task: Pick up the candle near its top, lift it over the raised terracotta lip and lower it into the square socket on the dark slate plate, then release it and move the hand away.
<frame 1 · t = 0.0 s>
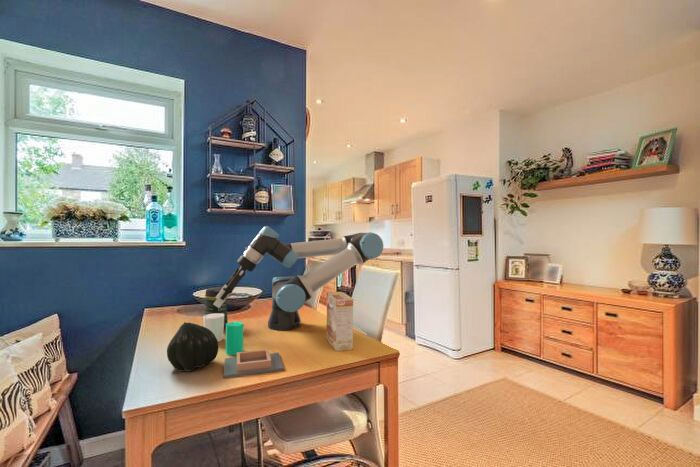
hand: (217, 302, 133), 15 cm above the table, tool tilted 35°, fingers open, 13 cm apart
candle plate: (253, 365, 108), on the table
white cup: (213, 340, 133), on the table
squash: (192, 367, 107), on the table
coffee jar: (216, 328, 150), on the table
candle: (234, 352, 120), on the table
coffeecake box: (338, 344, 130), on the table
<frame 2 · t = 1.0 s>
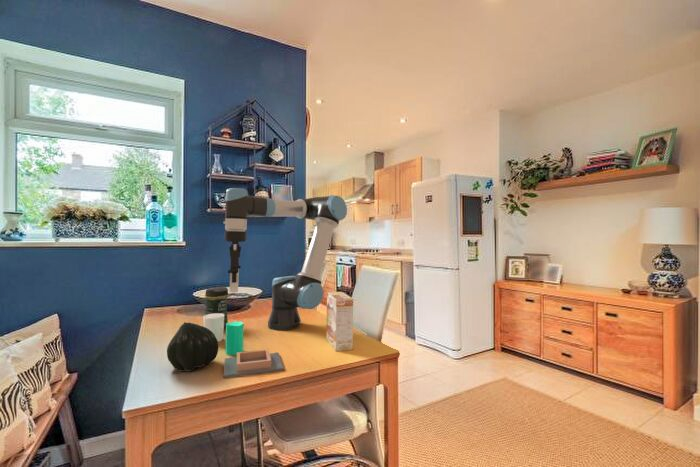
hand: (234, 288, 120), 23 cm above the table, tool pointing down, fingers open, 13 cm apart
nothing on the table moved.
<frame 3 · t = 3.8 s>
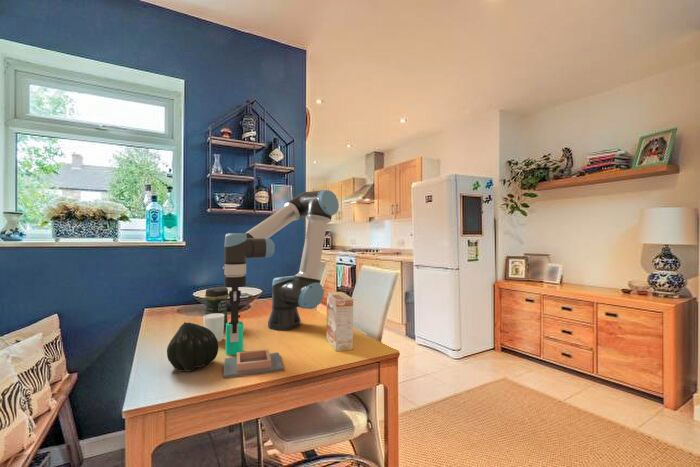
hand: (234, 338, 120), 5 cm above the table, tool pointing down, fingers closed on candle, 6 cm apart
candle: (234, 352, 120), on the table, touching gripper
everything else where it was.
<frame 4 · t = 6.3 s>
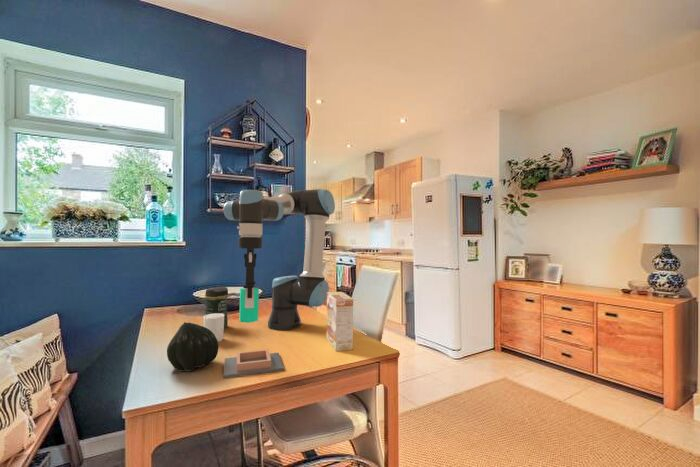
hand: (249, 305, 110), 19 cm above the table, tool pointing down, fingers closed on candle, 6 cm apart
candle: (248, 320, 110), point 14 cm above the table, touching gripper
everything else where it was.
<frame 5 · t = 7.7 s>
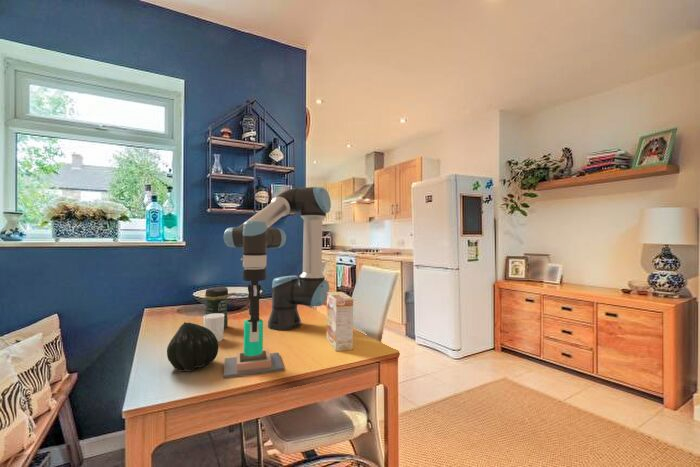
hand: (253, 337, 108), 9 cm above the table, tool pointing down, fingers closed on candle, 6 cm apart
candle: (253, 353, 108), point 4 cm above the table, touching gripper
everything else where it was.
when the fingers open (7 cm above the table, at t = 8.9 s): candle stays where it is, resting on candle plate.
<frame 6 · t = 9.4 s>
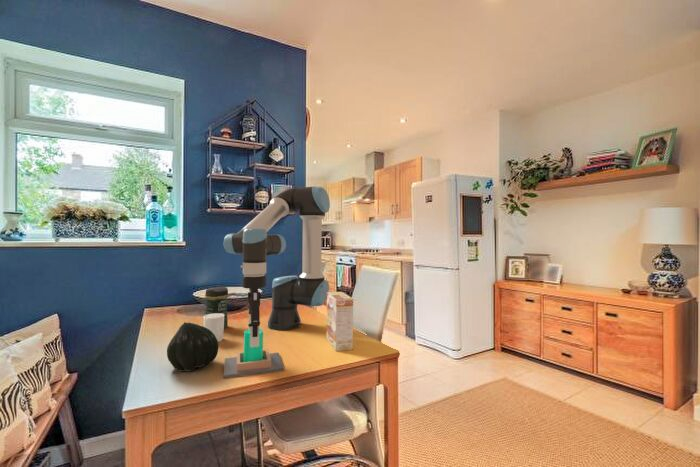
hand: (253, 339, 108), 8 cm above the table, tool pointing down, fingers open, 13 cm apart
candle: (253, 363, 108), point 1 cm above the table, touching candle plate
everything else where it was.
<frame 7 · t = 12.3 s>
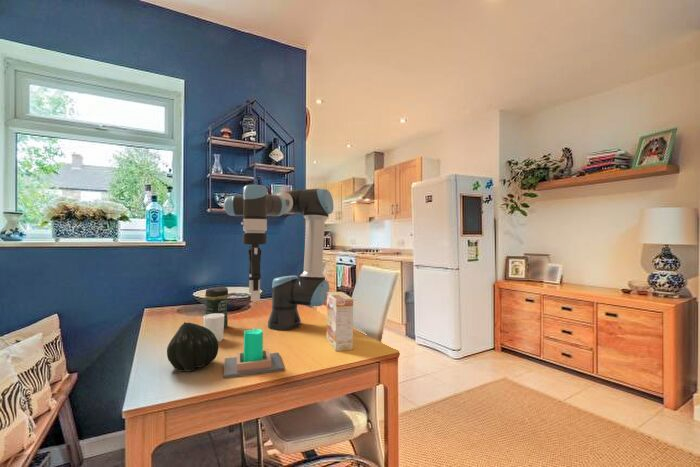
hand: (254, 296, 108), 23 cm above the table, tool pointing down, fingers open, 13 cm apart
nothing on the table moved.
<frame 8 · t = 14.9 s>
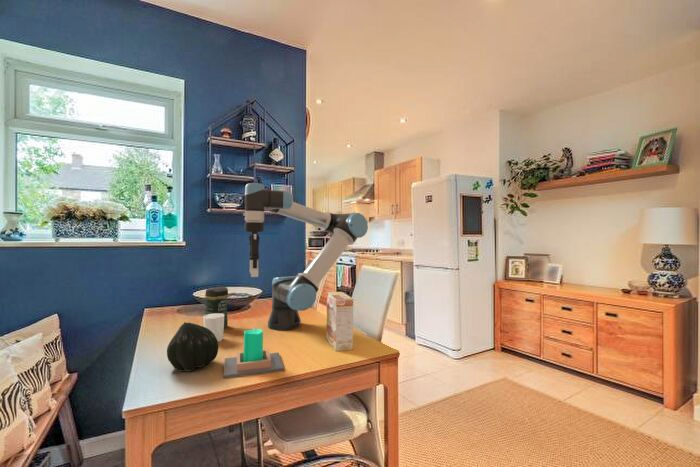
hand: (253, 274, 133), 27 cm above the table, tool pointing down, fingers open, 13 cm apart
nothing on the table moved.
at the end: candle 0.1 cm off-centre on the candle plate, point 0.6 cm above the candle plate's base; candle tilted 0°; the gripper is holding nothing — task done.
